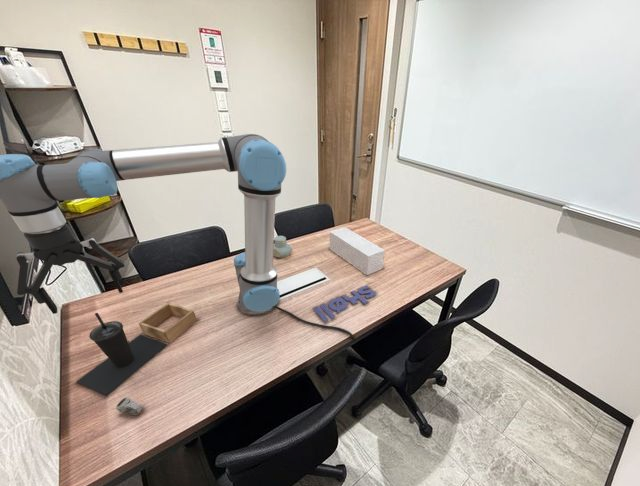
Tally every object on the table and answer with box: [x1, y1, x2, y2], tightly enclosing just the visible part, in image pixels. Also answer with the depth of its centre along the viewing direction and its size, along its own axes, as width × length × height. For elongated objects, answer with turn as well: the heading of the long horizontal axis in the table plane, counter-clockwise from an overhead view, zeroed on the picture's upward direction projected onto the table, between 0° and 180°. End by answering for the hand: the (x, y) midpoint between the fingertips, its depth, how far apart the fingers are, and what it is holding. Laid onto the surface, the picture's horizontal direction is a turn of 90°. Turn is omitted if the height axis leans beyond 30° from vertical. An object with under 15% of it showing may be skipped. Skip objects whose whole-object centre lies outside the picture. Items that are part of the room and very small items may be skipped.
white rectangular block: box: [329, 226, 386, 276], centre depth 148 cm, size 32×11×11 cm, turn 39°
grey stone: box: [115, 396, 144, 416], centre depth 75 cm, size 4×6×5 cm, turn 85°
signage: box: [312, 285, 376, 323], centre depth 119 cm, size 28×1×10 cm
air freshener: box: [273, 235, 293, 259], centre depth 147 cm, size 11×8×10 cm
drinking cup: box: [89, 312, 134, 368], centre depth 84 cm, size 8×8×20 cm
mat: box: [76, 334, 168, 397], centre depth 89 cm, size 12×20×1 cm, turn 161°
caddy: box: [138, 302, 198, 344], centre depth 102 cm, size 12×12×5 cm
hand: (89, 300), depth 76 cm, fingers open, 13 cm apart
